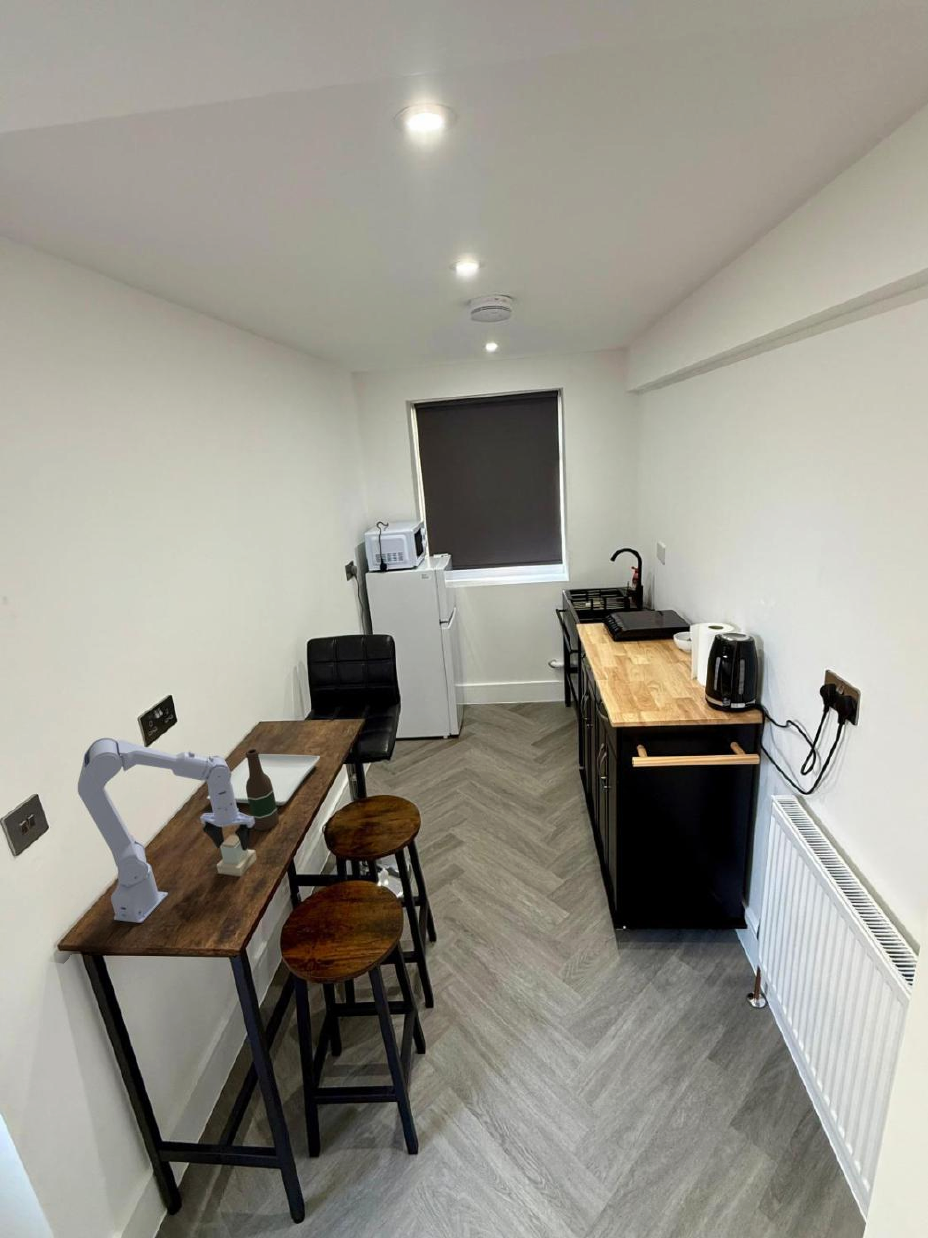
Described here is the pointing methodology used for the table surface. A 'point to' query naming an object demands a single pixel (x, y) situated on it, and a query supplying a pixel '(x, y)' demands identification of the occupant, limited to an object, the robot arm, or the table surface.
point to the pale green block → (232, 850)
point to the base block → (237, 865)
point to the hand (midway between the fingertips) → (233, 847)
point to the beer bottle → (260, 794)
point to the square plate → (274, 775)
